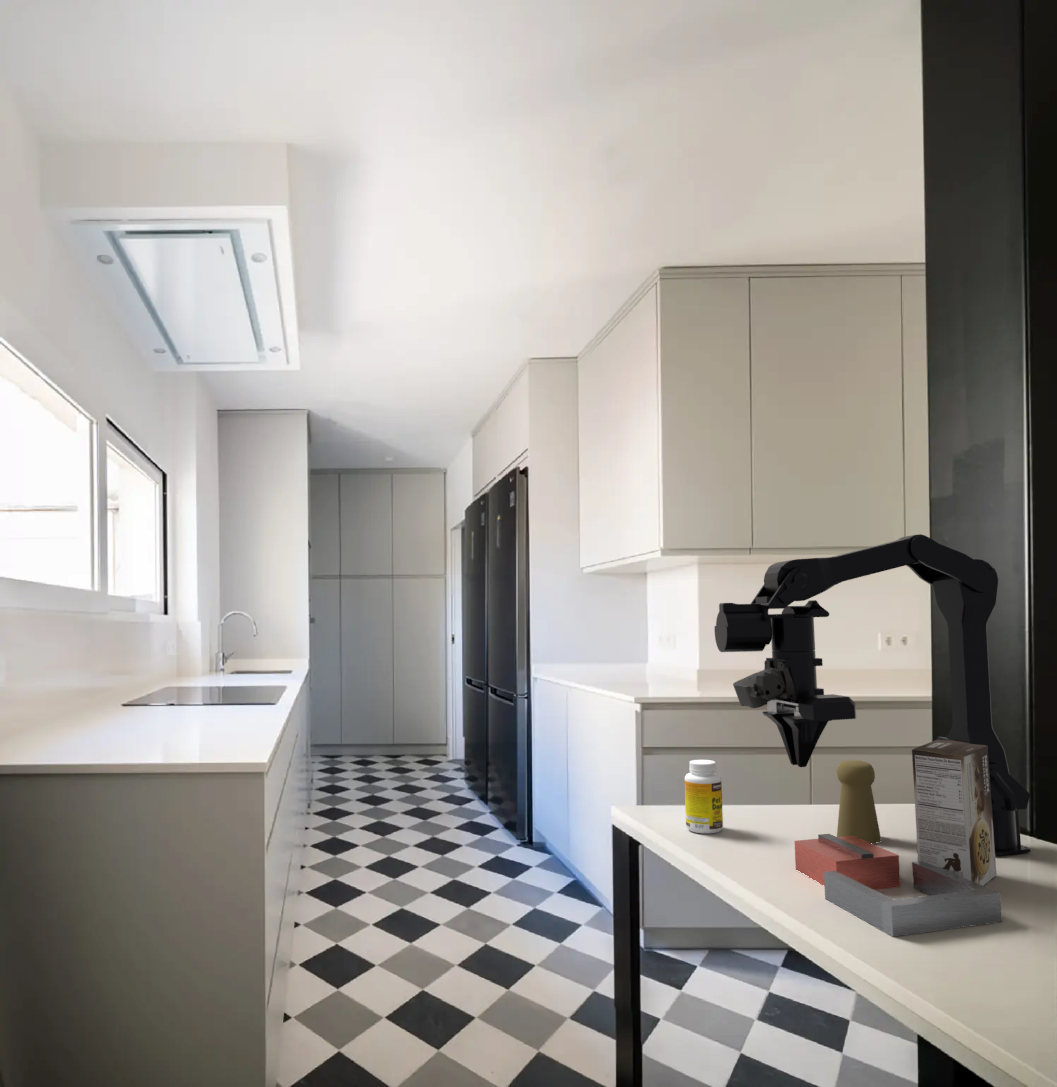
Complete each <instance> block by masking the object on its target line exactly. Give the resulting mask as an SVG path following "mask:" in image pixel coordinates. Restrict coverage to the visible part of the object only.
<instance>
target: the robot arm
mask: <svg viewBox="0 0 1057 1087" xmlns="http://www.w3.org/2000/svg"><path fill="white" fill-rule="evenodd" d="M901 567H908V568H909V569H910V570H911V571H912V572H913V573H914V574H915V575H916V576H917V577H918V578H919V579H921V580H922V581H924V582H925V583H927V584H929V585H930V586H932V587H933V592H934V597H935V600H936V605H937V607H938V609H939V611H940V612H941V615H942V616H943V618H944V620H945V622H946V624H947V633H948V650H949V652H948V654H949V674H950V695H951V712H952V713H951V715H952V726H951V728H950V730H949V733H948V735H947V737H943V736H937V738H936V740H947V741H958V742H964V743H970V744H977V745H987V746H988V760H989V773H990V788H991V801H992V817H993V831H994V846H995V857H996V856H997V857H999V856H1006V855H1015V854H1022V853H1023V854H1024V853H1031V852H1032V849H1031V847H1028V846H1026V845H1022V841H1021V827H1020V813H1019V812H1020V810H1026V809H1027V808H1028V804H1029V801H1030V797H1031V794H1030V792H1029V791H1028V790H1027V789H1026V788H1025V787H1023V786H1022V785H1021V784H1020V783H1019V782H1018V781H1017V780H1016V779H1015V778H1014V777H1013V776H1012V775H1011V774H1010V769H1009V765H1008V759H1007V757H1006V751H1005V749H1004V747H1003V745H1002V743H1001V741H1000V739H999V738H998V735H997V734H996V732H995V730H994V727H993V718H992V717H993V716H992V715H993V714H992V699H991V680H990V664H989V662H990V661H989V646H988V645H989V644H988V642H989V641H988V622H989V620H990V618H991V616H992V614H993V611H994V609H995V607H996V605H997V600H998V590H999V580H1000V579H999V575H998V572H997V569H996V568H995V567H993V566H992V565H991V564H990V563H989V562H987V561H985V560H983V559H978V558H977V559H975V558H973V557H971V556H969V555H967V553H963V552H961V551H958V550H956V549H953V548H951V547H949V546H946V545H943V544H941V543H939V542H938V541H936V540H934V539H932V538H931V537H928V536H927V535H925V534H921V533H920V534H912V535H905V536H902V537H900V538H897V539H896V540H893V541H889V542H884V543H881V544H878V545H877V544H876V545H873V546H869V547H865V548H861V549H858V550H853V551H850V552H846V553H842V554H837V555H834V556H830V557H811V558H810V557H808V558H795V559H790V560H785V561H784V560H783V561H778V562H777V561H776V562H775V563H773V564H771V565H770V566H768V567H767V569H766V571H765V574H764V576H763V585H762V586H761V588H760V589H759V591H757V594H756V595H755V596H754V598H753V599H752V601H751V603H736V602H735V603H734V602H720V603H719V604H718V609H719V610H718V613H717V616H716V621H715V625H714V639H715V643H716V648H717V649H718V651H719V652H721V653H747V652H750V653H751V652H752V653H753V652H763V651H764V649H765V647H766V645H770V643H771V656H772V657H766V658H765V660H764V669H763V670H760V671H758V672H755V673H751V674H749V675H748V676H746V677H743V678H741V679H738V680H736V681H735V682H733V684H732V685H733V687H734V691H735V694H736V696H737V700H738V701H739V704H740V706H741V707H748V708H751V709H758V708H762V707H763V706H765V705H766V711H762V714H763V716H765V717H767V718H768V719H770V721H771V722H773V723H774V724H775V725H776V727H777V729H778V732H779V735H780V736H781V740H782V743H783V746H784V749H785V751H786V753H787V757H788V759H789V762H790V764H791V765H792V766H798V767H799V768H806V767H807V765H808V764H809V762H810V759H811V757H812V755H813V752H814V750H815V748H816V746H817V743H818V742H819V739H820V737H821V735H822V734H823V731H824V730H825V728H826V726H827V725H828V723H829V722H831V721H839V720H841V721H842V720H856V719H857V707H856V706H857V704H856V703H855V701H853V699H852V698H851V697H850V696H847V695H846V696H845V695H839V694H835V693H834V694H825V692H824V691H825V689H824V688H821V687H818V683H817V682H818V680H817V677H818V676H817V667H823V658H821V657H820V658H819V657H816V641H815V640H816V636H815V618H828V617H829V616H830V612H829V611H828V610H827V609H825V608H824V607H822V605H820V604H819V602H818V601H817V600H813V599H812V600H809V599H811V598H813V597H815V596H817V595H820V594H822V593H824V592H826V591H828V590H829V589H831V588H833V587H834V586H836V585H838V584H841V583H842V582H843V583H844V582H846V581H850V580H854V579H858V578H861V577H866V576H870V575H873V574H877V573H881V572H885V571H889V570H893V569H897V568H901ZM807 600H808V601H807ZM803 601H807V603H806V604H804V605H791V604H793V603H794V602H803ZM775 609H776V610H782V611H781V613H769V610H775Z"/></svg>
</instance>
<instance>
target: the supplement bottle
mask: <svg viewBox="0 0 1057 1087" xmlns="http://www.w3.org/2000/svg"><path fill="white" fill-rule="evenodd" d="M716 763H717V762H716V761H714V760H712V759H711V760H710V759H692V760H689V768H688V769H689V772H688V773H686V775H685V776H684V800H685V801H684V802H685V803H684V804H685V805H684V806H685V827H686V829H687V830H689V831H690V832H693V833H697V834H706V835H707V834H709V835H710V834H717V833H719V832H722V830H723V828H724V820H723V819H724V818H723V815H724V813H723V787H722V784H723V783H722V782H723V781H722V776H721V775H719V774H718V773H716V772H717V771H716V770H717V764H716Z"/></svg>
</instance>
